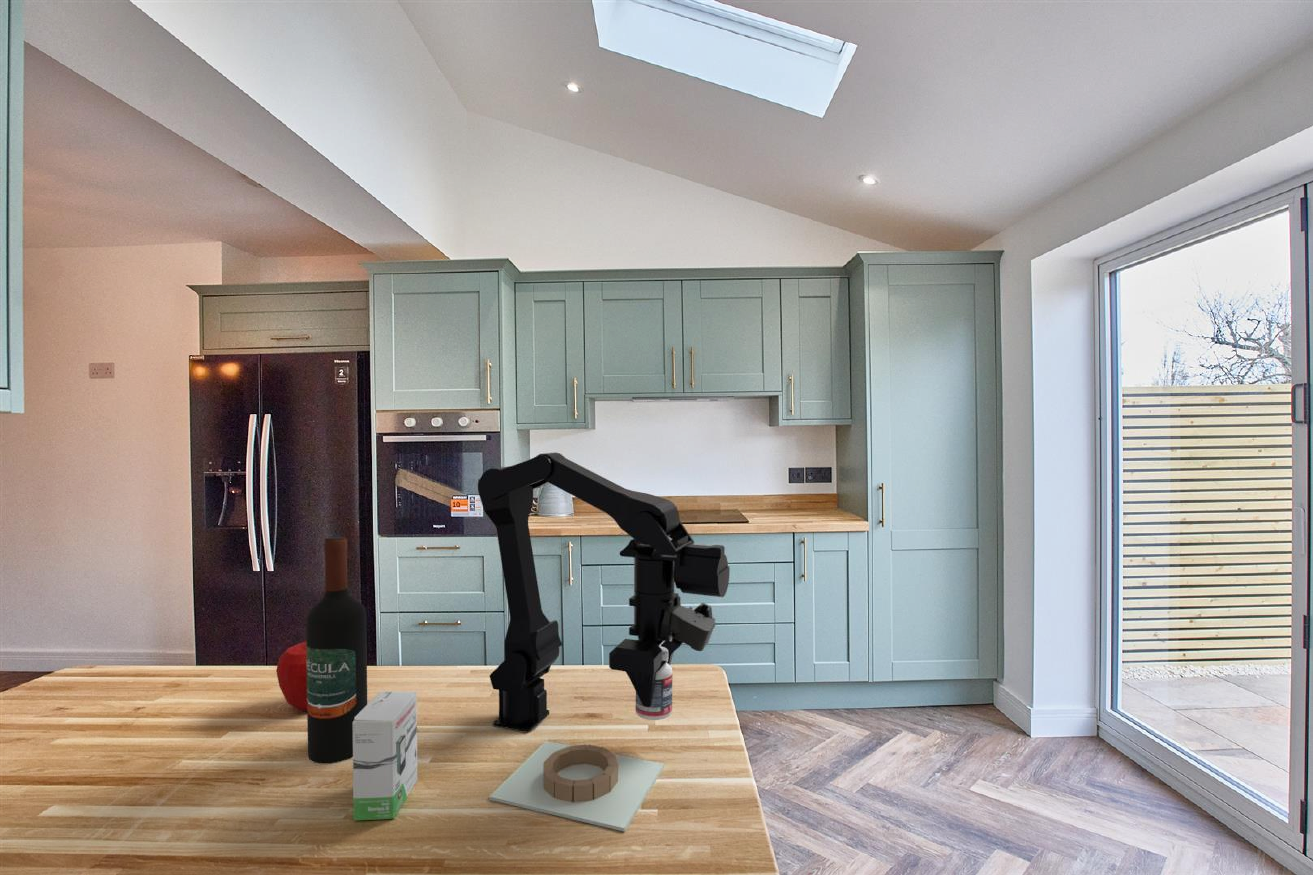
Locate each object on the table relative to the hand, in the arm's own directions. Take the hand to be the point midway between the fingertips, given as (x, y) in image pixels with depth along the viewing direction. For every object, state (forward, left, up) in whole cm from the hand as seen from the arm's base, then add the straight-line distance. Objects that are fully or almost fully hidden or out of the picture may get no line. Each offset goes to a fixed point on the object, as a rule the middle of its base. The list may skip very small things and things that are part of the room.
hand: (653, 697), depth 88 cm
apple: (-57, -6, -8) cm, 58 cm away
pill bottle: (0, 0, -2) cm, 2 cm away
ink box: (-27, -22, -8) cm, 36 cm away
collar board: (-6, -11, -7) cm, 15 cm away
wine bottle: (-42, -15, -8) cm, 45 cm away
